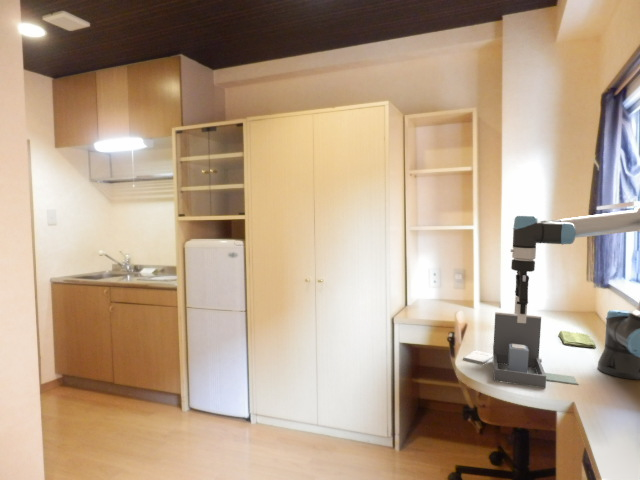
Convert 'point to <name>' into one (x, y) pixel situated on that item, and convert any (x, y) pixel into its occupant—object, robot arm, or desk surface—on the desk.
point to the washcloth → (576, 339)
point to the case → (523, 335)
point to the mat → (561, 378)
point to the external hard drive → (478, 357)
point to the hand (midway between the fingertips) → (519, 318)
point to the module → (518, 358)
